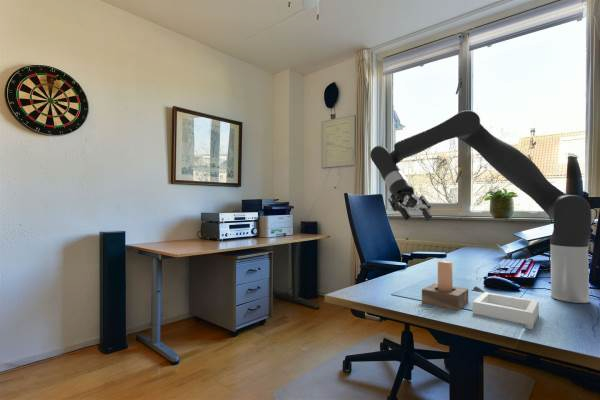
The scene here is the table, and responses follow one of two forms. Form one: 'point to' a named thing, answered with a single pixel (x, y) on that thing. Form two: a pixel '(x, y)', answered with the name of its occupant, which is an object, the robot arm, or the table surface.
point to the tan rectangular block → (445, 276)
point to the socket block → (445, 297)
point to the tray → (507, 308)
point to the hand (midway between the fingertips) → (419, 219)
